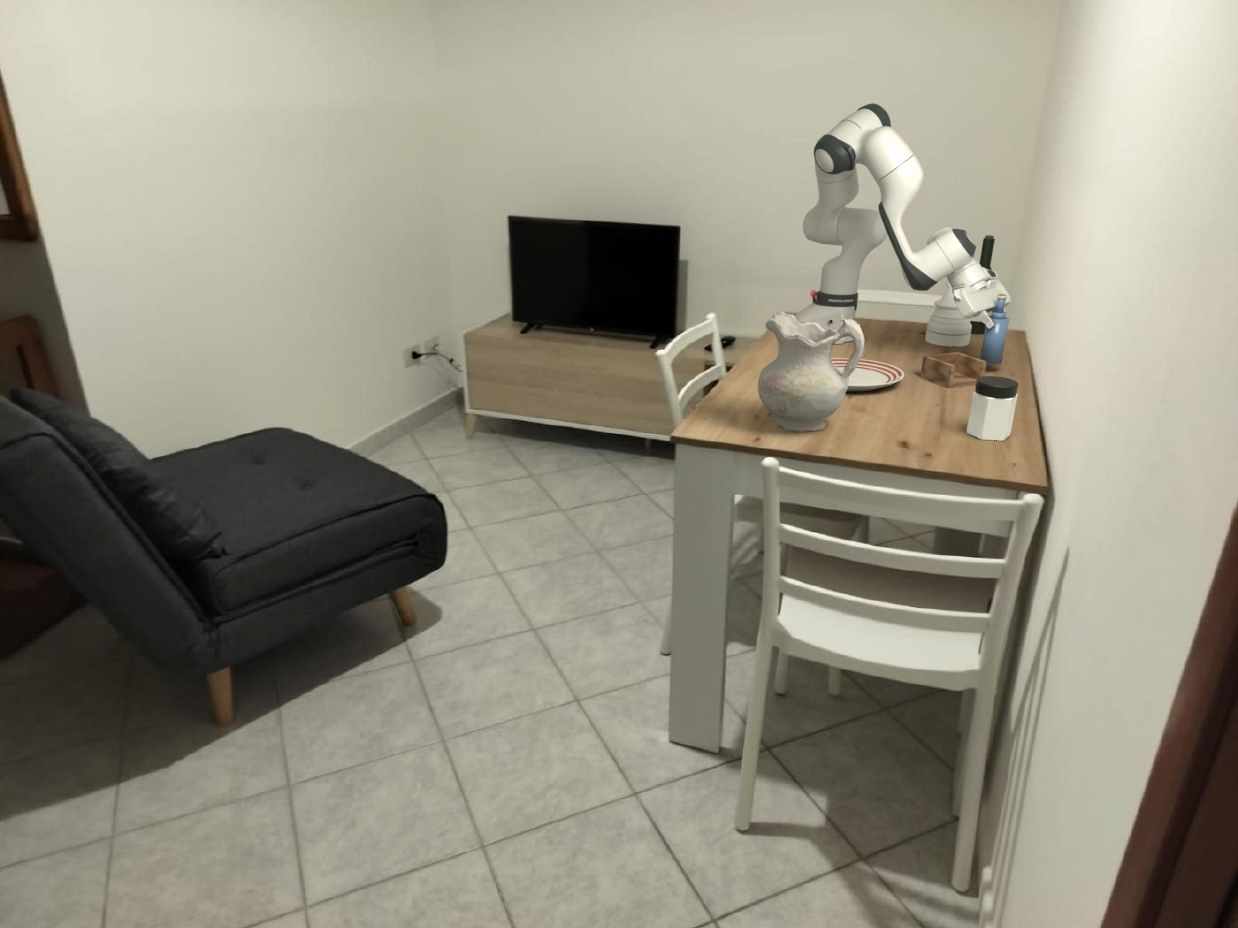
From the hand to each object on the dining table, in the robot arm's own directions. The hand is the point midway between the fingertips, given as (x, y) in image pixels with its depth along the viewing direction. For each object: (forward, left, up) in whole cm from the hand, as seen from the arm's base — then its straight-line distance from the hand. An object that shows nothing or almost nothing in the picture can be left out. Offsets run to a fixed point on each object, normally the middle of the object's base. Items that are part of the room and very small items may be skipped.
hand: (999, 324), depth 220 cm
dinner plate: (-40, -12, -13) cm, 44 cm away
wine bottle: (+9, +48, -13) cm, 51 cm away
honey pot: (-3, +34, -13) cm, 37 cm away
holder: (-13, -9, -13) cm, 20 cm away
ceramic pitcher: (-55, -47, -13) cm, 73 cm away
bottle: (0, +1, -10) cm, 10 cm away
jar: (-16, -50, -13) cm, 54 cm away
